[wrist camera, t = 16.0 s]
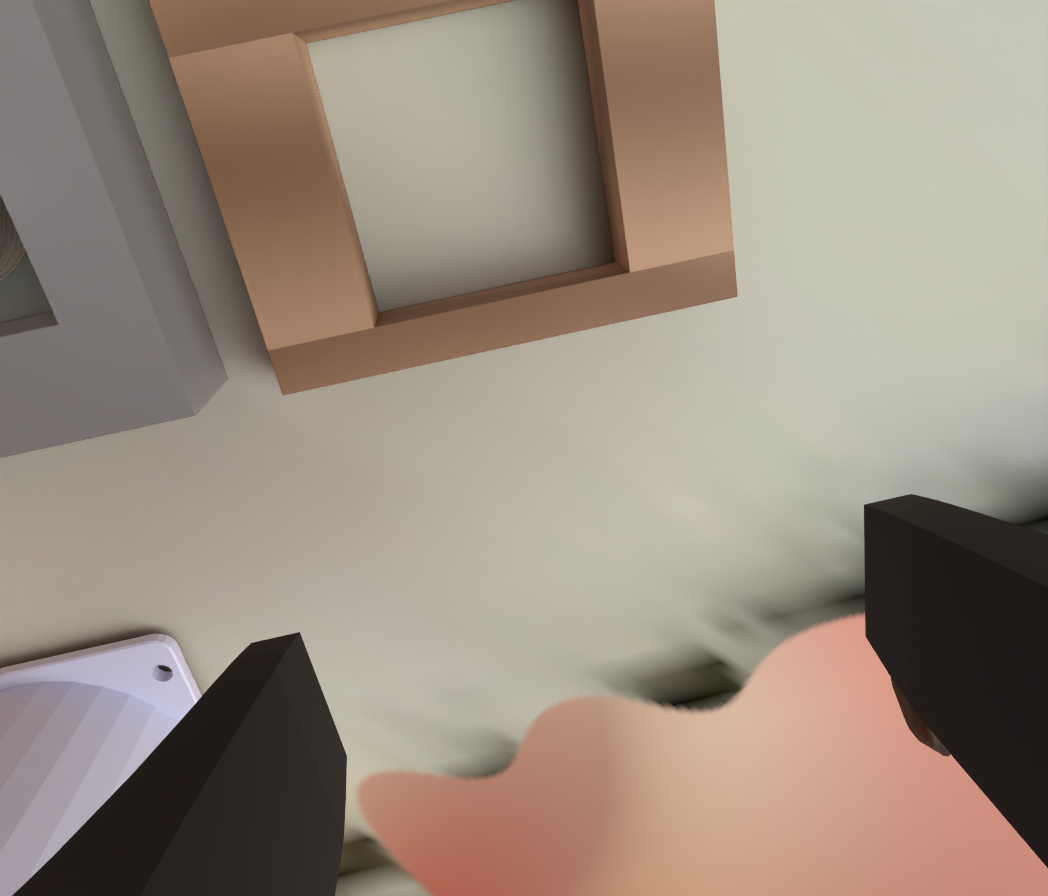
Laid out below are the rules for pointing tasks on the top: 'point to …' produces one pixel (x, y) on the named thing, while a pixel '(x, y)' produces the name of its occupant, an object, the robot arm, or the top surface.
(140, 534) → the top surface
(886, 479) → the top surface
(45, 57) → the frame
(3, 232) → the peg
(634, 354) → the top surface
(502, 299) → the socket board
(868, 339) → the top surface
